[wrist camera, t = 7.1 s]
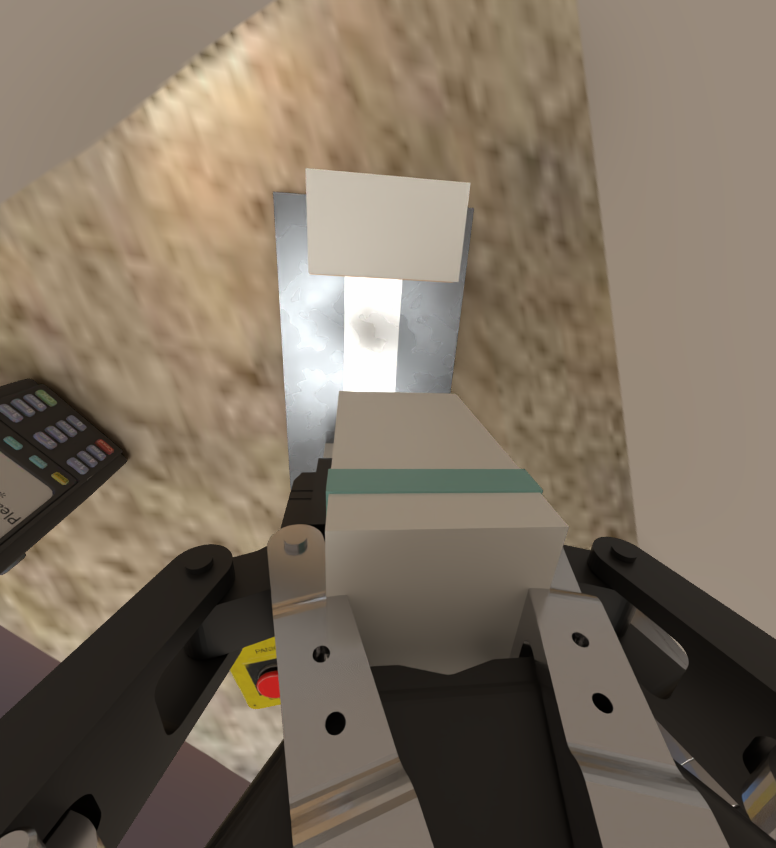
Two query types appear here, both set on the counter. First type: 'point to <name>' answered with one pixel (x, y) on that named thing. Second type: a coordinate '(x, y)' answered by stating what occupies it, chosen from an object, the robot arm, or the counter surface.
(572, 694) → the robot arm
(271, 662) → the emergency button
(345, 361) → the rail plate
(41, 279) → the counter surface
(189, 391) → the counter surface
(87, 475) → the black card payment terminal
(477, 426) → the block
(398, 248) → the mounted modules
